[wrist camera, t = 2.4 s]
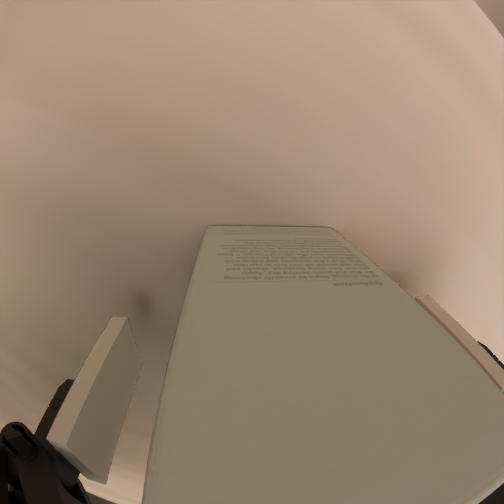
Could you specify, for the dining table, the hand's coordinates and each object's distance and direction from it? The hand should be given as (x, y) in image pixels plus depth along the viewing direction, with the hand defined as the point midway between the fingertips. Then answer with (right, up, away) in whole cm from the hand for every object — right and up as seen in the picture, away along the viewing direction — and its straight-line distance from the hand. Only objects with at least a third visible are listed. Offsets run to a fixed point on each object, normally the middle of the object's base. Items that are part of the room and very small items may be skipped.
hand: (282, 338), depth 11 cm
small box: (0, +1, +3) cm, 4 cm away
